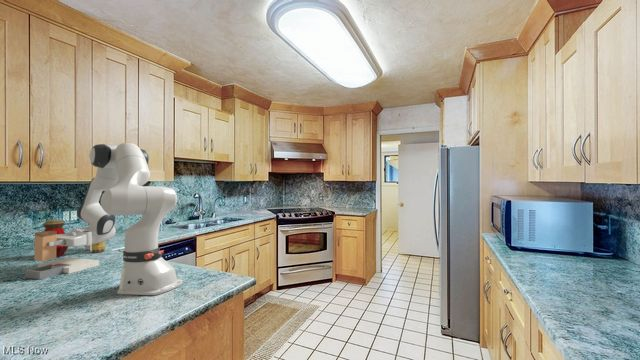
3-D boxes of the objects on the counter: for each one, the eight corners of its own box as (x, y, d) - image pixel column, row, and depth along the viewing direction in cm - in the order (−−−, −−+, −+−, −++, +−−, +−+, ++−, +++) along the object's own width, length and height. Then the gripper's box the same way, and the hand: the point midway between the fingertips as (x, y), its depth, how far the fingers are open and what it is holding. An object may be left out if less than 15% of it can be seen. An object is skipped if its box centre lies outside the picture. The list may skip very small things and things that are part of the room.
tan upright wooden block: (56, 258, 122) (56, 231, 122) (42, 261, 117) (42, 233, 118) (48, 257, 124) (48, 230, 124) (34, 260, 119) (34, 232, 119)
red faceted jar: (28, 258, 148) (29, 221, 148) (60, 252, 161) (60, 218, 161) (44, 261, 142) (45, 222, 142) (76, 254, 155) (76, 219, 155)
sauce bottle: (97, 253, 157) (97, 218, 158) (88, 253, 159) (88, 218, 159) (108, 250, 164) (108, 217, 164) (99, 250, 165) (100, 217, 165)
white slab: (99, 265, 135) (99, 259, 135) (45, 280, 114) (45, 272, 114) (69, 262, 140) (69, 256, 140) (13, 275, 119) (13, 269, 119)
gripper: (63, 230, 136) (27, 235, 122) (93, 232, 131) (59, 237, 117) (62, 242, 136) (26, 249, 122) (93, 245, 130) (59, 252, 117)
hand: (43, 243), depth 120 cm, fingers closed on tan upright wooden block, 5 cm apart
